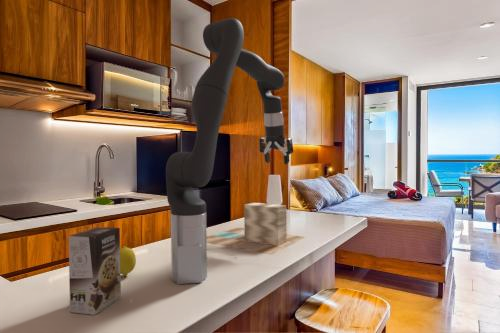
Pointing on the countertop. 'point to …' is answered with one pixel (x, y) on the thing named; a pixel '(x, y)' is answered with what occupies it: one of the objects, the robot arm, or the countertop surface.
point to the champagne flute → (274, 190)
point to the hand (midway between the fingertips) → (277, 163)
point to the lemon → (127, 260)
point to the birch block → (265, 223)
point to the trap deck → (234, 239)
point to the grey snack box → (94, 269)
